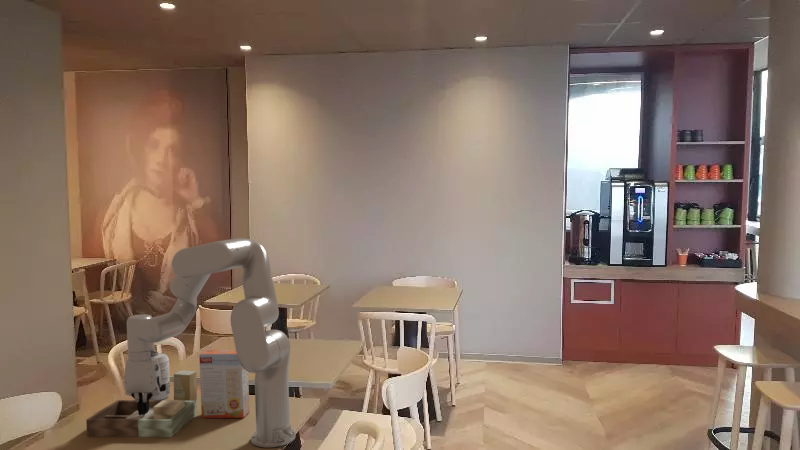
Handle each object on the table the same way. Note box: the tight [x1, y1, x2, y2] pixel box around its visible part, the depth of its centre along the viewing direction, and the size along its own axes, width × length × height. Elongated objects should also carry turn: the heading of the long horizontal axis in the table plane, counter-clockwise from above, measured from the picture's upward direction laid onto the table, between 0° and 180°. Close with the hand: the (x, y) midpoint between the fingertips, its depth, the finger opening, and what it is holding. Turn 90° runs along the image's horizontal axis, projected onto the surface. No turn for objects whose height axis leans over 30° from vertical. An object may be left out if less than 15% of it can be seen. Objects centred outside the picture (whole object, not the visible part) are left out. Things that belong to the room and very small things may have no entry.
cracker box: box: [199, 349, 250, 419], centre depth 192 cm, size 14×6×21 cm, turn 84°
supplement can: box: [150, 352, 171, 400], centre depth 211 cm, size 8×8×15 cm
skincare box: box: [173, 369, 198, 408], centre depth 200 cm, size 6×4×12 cm
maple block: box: [153, 399, 185, 419], centre depth 184 cm, size 7×6×4 cm
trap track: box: [85, 399, 197, 438], centre depth 185 cm, size 26×17×5 cm, turn 85°
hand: (143, 413), depth 185 cm, fingers closed
